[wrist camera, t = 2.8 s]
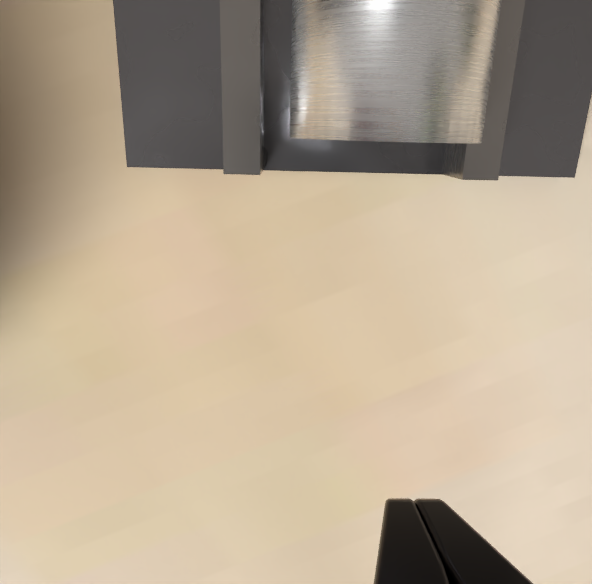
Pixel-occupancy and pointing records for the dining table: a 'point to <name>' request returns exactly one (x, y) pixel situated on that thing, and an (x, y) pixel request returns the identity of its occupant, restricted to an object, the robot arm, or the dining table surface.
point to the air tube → (391, 69)
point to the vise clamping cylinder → (337, 153)
